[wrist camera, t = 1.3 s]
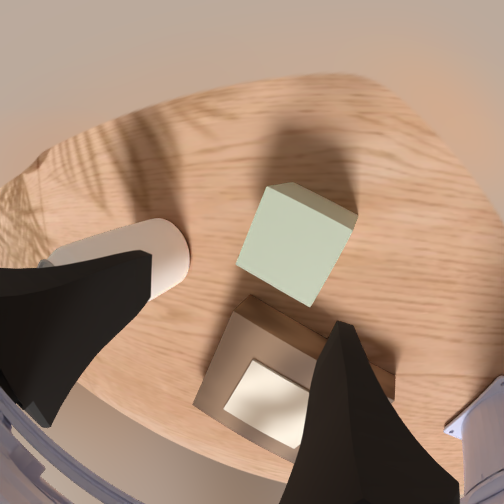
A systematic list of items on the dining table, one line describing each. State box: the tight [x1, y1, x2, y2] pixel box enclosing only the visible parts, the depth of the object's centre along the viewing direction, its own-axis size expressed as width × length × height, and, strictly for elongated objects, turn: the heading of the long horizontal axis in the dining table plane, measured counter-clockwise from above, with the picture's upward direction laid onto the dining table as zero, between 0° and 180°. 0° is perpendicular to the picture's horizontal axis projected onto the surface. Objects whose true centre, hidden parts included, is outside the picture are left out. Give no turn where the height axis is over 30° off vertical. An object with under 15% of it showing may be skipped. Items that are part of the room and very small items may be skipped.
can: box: [37, 218, 190, 302], centre depth 20 cm, size 6×6×12 cm
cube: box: [236, 182, 359, 307], centre depth 17 cm, size 5×5×5 cm
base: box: [192, 295, 395, 463], centre depth 23 cm, size 14×14×3 cm
